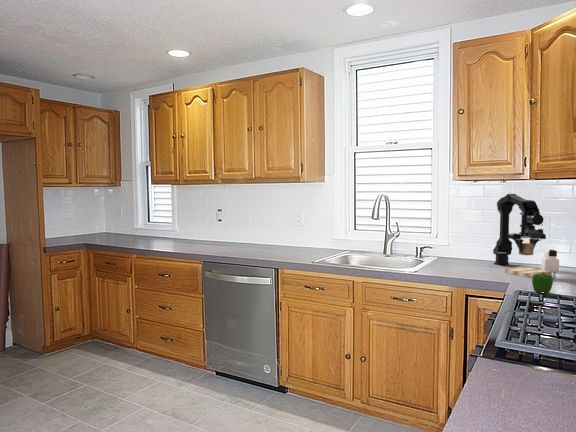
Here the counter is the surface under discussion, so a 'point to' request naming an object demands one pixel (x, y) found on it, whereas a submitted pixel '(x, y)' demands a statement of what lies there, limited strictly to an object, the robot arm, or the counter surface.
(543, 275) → the bell pepper
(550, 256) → the medicine bottle
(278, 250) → the counter surface
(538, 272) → the birch base
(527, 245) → the walnut block
